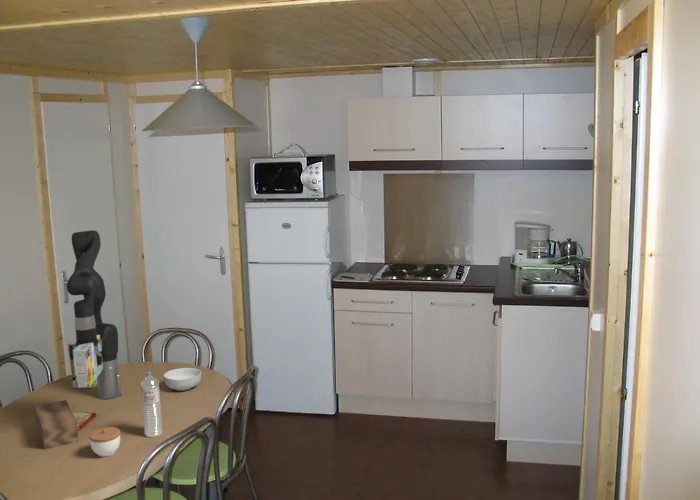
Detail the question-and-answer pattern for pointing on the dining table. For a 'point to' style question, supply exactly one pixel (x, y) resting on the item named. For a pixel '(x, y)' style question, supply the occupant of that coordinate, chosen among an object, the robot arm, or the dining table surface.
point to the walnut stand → (56, 424)
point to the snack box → (86, 364)
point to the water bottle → (151, 406)
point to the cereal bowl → (182, 378)
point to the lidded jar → (105, 441)
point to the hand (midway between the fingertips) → (89, 366)
